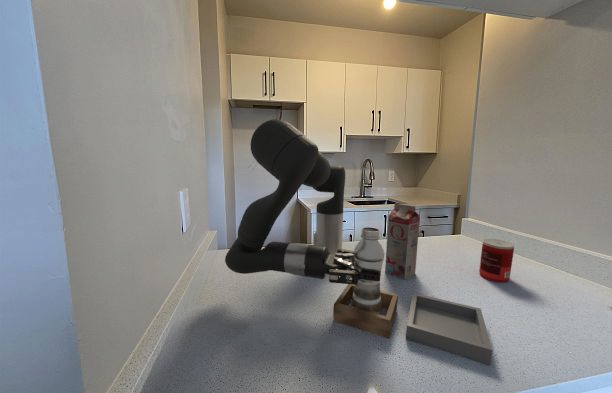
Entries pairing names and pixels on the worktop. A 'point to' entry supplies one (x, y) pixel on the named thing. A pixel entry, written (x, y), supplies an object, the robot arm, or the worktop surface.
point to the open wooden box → (366, 313)
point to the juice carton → (402, 241)
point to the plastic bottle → (368, 257)
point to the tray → (449, 328)
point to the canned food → (496, 260)
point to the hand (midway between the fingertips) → (379, 269)
